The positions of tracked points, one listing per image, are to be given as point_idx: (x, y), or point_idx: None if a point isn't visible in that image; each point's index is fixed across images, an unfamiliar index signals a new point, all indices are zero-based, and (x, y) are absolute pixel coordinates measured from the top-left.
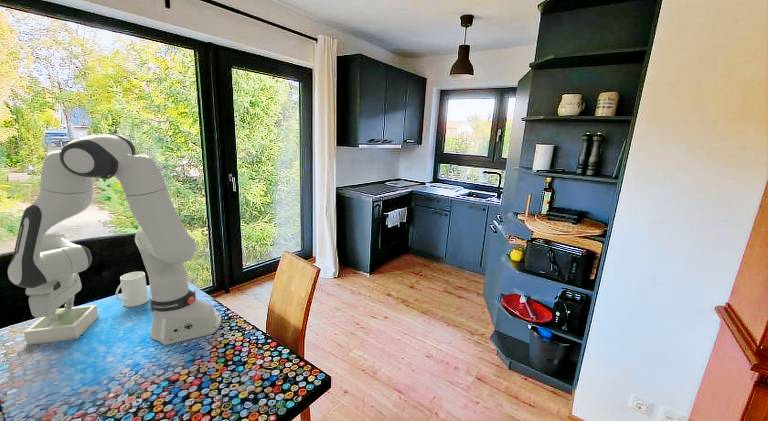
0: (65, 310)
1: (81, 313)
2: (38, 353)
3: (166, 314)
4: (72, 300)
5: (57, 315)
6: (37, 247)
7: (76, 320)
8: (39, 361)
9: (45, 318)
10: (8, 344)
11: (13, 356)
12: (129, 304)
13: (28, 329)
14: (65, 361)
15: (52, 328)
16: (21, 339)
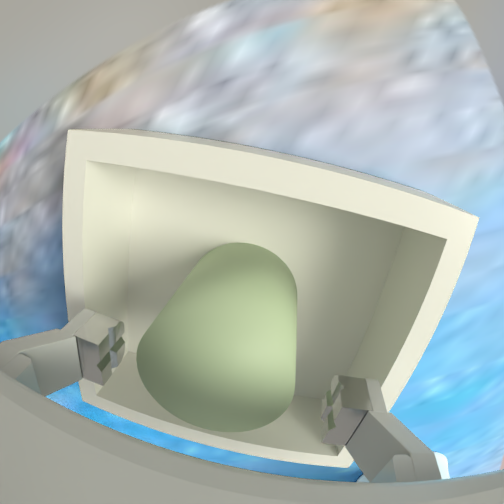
0: (249, 401)
1: (359, 376)
2: (45, 223)
3: None
4: (362, 468)
5: (97, 381)
6: None
7: (323, 337)
8: (4, 247)
9: (311, 198)
10: (194, 21)
11: (53, 121)
12: (366, 482)
13: (92, 146)
14: (3, 322)
15: (68, 308)
16: (230, 62)
